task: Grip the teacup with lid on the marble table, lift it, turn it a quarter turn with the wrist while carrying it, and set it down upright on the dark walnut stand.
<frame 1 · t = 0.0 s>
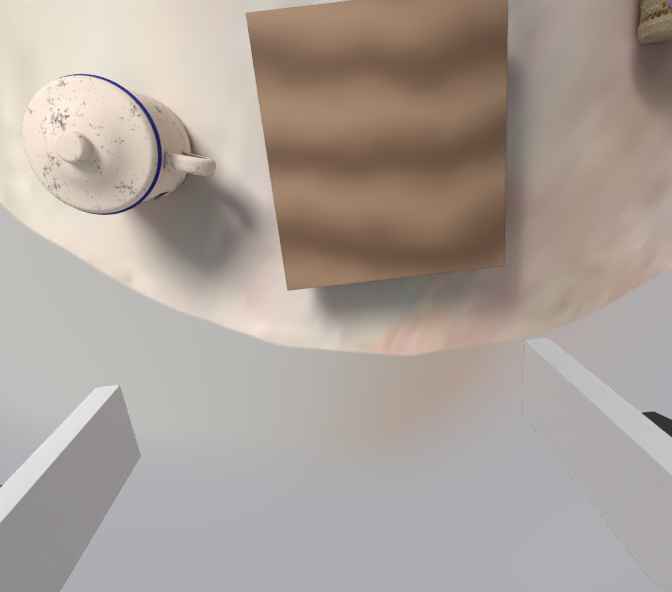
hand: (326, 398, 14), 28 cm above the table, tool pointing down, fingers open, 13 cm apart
teacup with lid: (159, 152, 38), on the table
walnut stand: (377, 151, 39), on the table
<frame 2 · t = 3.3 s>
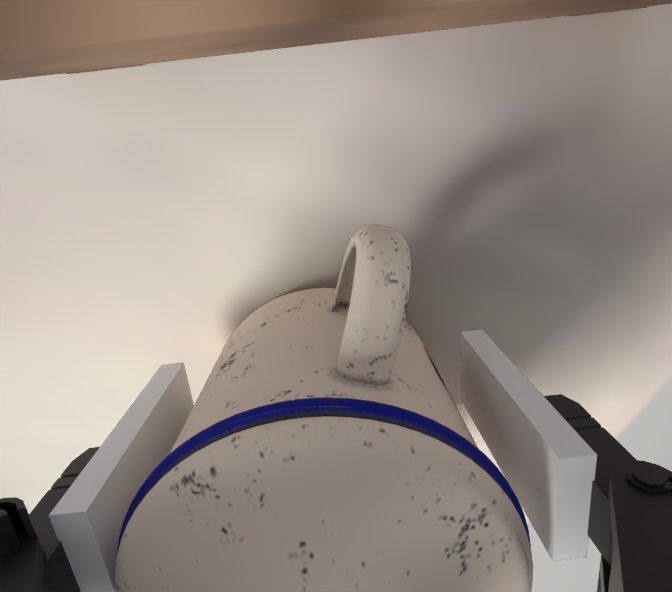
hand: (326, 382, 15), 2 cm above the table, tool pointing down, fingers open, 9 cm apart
teacup with lid: (331, 351, 17), on the table, touching gripper
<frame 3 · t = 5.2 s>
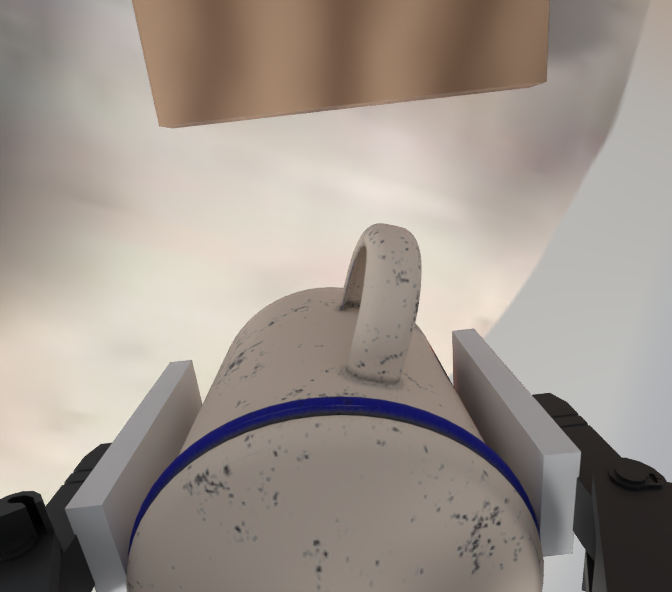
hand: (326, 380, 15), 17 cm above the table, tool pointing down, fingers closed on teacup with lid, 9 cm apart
teacup with lid: (337, 351, 17), point 14 cm above the table, touching gripper
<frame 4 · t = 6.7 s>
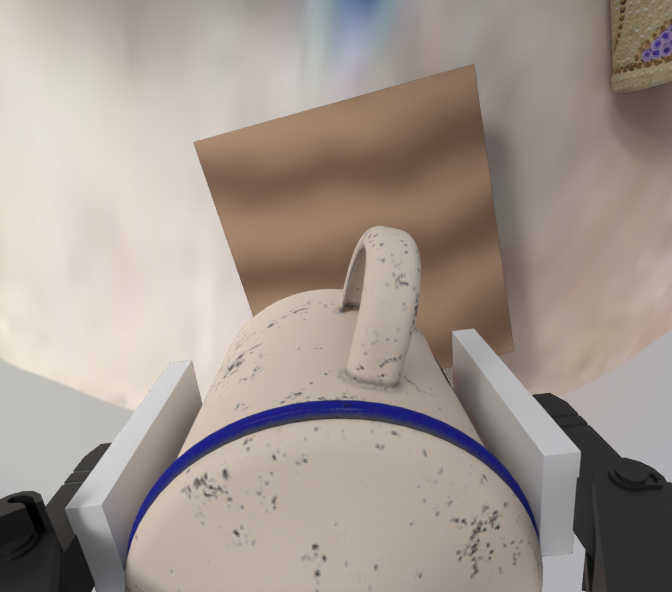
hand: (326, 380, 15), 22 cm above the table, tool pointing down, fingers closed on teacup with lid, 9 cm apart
teacup with lid: (337, 352, 17), point 20 cm above the table, touching gripper
walnut stand: (360, 239, 36), on the table
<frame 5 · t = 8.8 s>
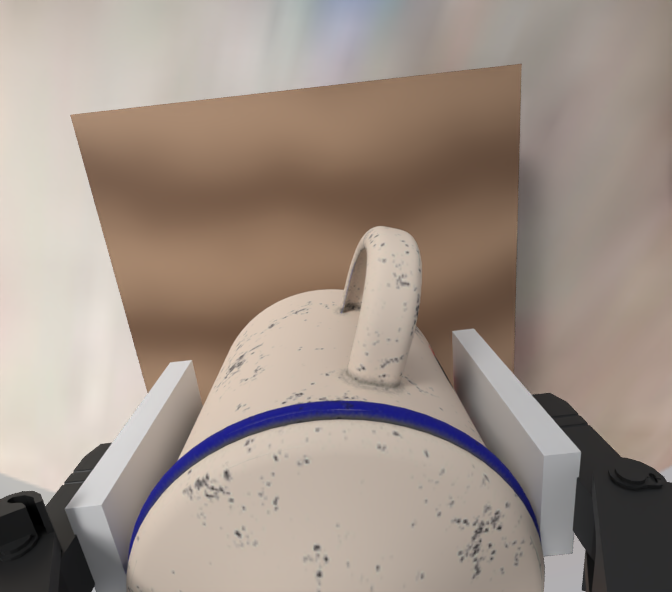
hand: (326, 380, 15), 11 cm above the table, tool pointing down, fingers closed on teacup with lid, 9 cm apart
teacup with lid: (337, 353, 17), point 9 cm above the table, touching gripper
walnut stand: (323, 285, 26), on the table
when the fingers open (9 cm above the table, at t = 10.2 s): teacup with lid drops 1 cm, resting on walnut stand.
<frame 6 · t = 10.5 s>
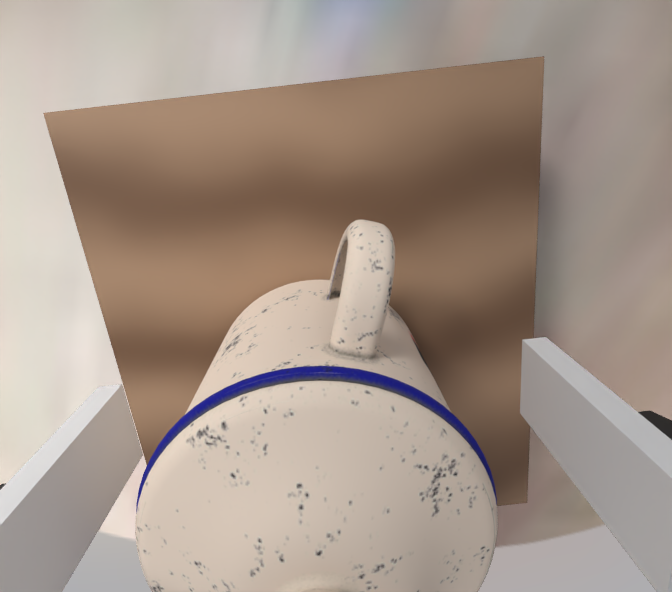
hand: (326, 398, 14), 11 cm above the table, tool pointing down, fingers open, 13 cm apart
teacup with lid: (326, 339, 19), point 6 cm above the table, touching walnut stand
walnut stand: (324, 296, 24), on the table
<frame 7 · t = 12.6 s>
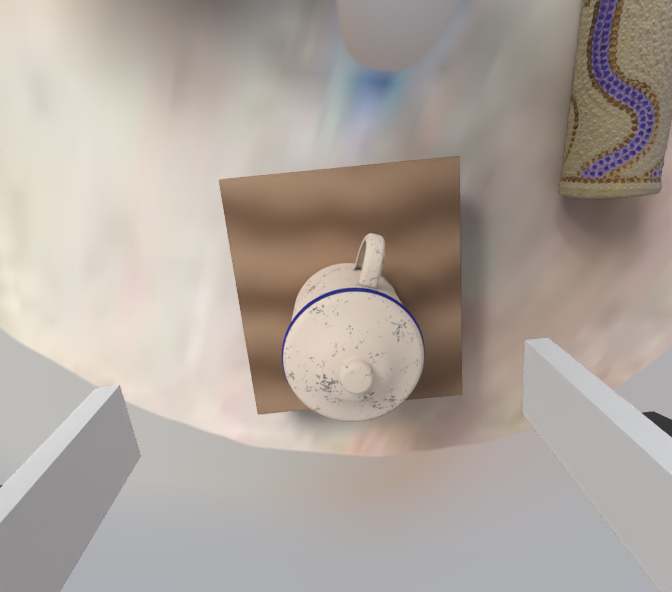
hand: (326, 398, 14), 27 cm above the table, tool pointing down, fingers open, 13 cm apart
decorative bottle: (612, 48, 36), on the table
teacup with lid: (350, 295, 36), point 6 cm above the table, touching walnut stand
walnut stand: (346, 277, 41), on the table
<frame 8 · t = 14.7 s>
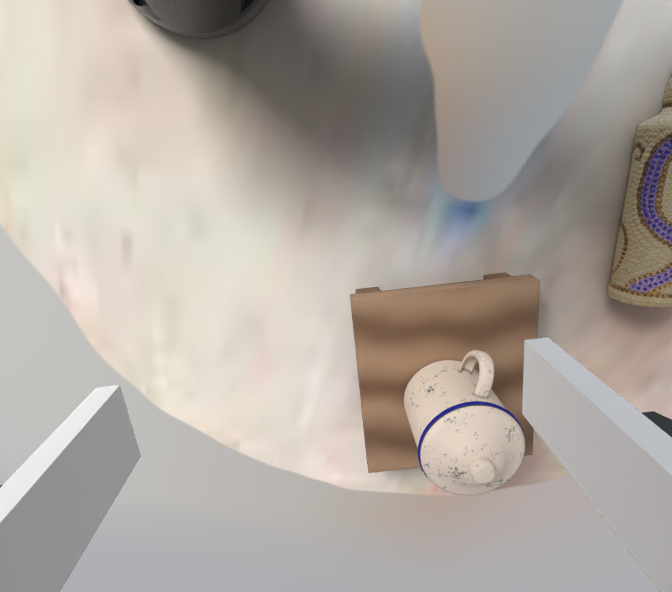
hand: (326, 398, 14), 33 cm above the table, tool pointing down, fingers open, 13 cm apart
decorative bottle: (653, 180, 45), on the table
teacup with lid: (447, 382, 45), point 6 cm above the table, touching walnut stand
walnut stand: (433, 357, 50), on the table
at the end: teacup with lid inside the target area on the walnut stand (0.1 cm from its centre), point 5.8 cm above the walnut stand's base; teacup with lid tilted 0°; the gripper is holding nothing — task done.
